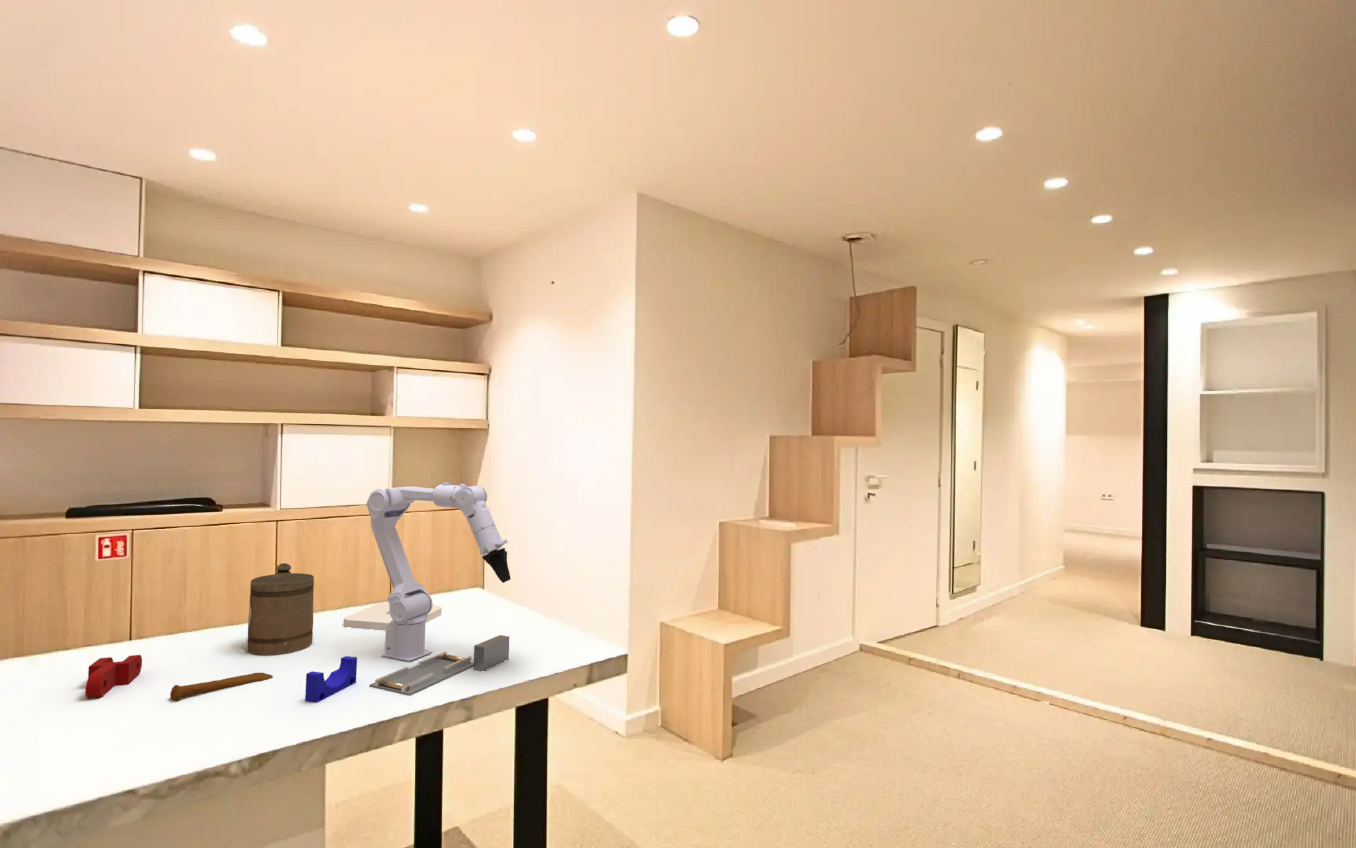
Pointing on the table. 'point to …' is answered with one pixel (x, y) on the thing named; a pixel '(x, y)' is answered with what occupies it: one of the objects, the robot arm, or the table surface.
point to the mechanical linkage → (111, 674)
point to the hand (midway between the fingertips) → (505, 580)
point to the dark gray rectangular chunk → (491, 653)
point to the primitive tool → (215, 685)
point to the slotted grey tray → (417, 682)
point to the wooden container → (280, 612)
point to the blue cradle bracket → (331, 680)
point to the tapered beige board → (380, 617)
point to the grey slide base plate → (417, 673)
